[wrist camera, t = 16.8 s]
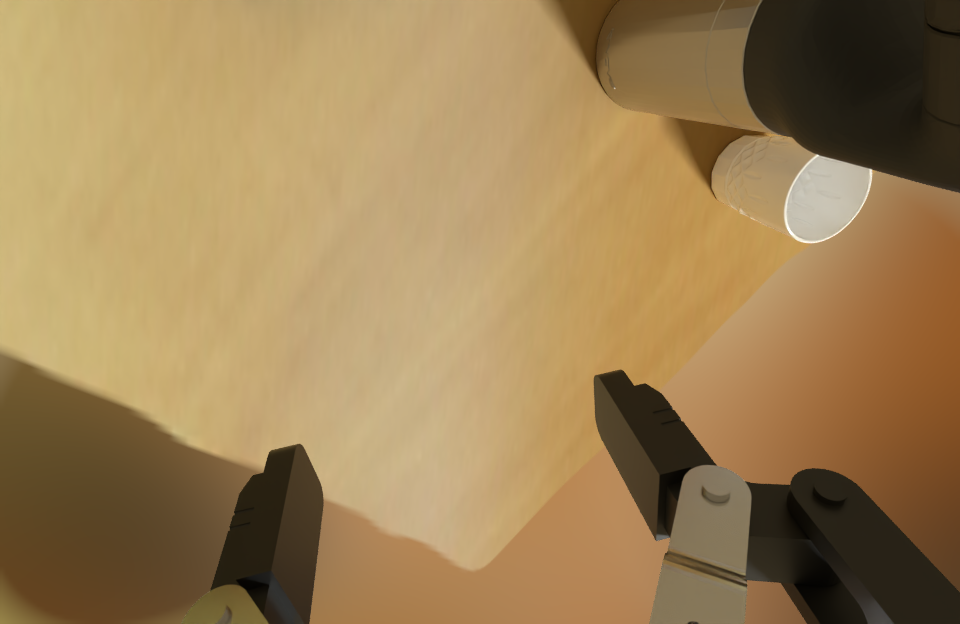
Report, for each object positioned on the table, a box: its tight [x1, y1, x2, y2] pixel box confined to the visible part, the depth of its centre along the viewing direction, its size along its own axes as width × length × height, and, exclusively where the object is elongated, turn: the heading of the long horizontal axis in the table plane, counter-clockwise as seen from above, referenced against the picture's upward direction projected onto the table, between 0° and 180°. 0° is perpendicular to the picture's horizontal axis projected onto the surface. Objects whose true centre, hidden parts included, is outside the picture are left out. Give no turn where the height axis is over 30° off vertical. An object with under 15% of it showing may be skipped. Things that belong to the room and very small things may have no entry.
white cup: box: [711, 135, 872, 243], centre depth 44 cm, size 8×8×10 cm
